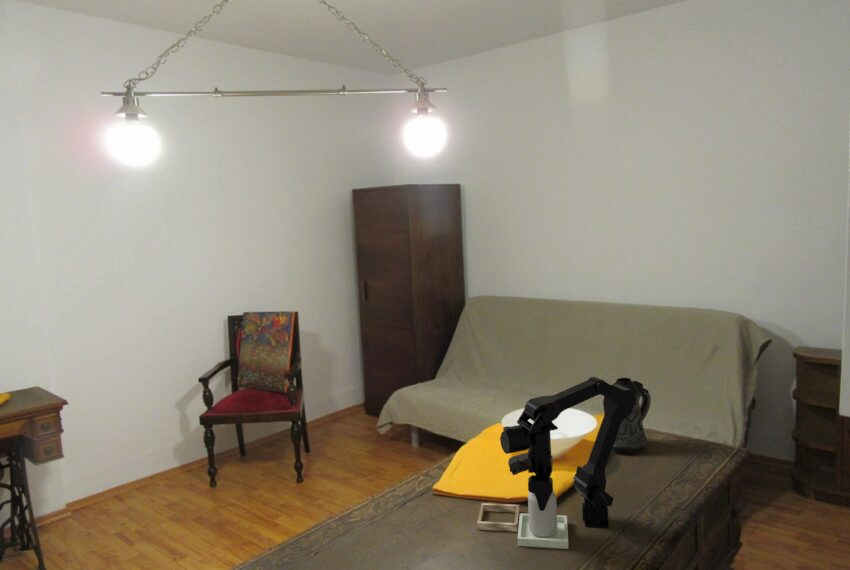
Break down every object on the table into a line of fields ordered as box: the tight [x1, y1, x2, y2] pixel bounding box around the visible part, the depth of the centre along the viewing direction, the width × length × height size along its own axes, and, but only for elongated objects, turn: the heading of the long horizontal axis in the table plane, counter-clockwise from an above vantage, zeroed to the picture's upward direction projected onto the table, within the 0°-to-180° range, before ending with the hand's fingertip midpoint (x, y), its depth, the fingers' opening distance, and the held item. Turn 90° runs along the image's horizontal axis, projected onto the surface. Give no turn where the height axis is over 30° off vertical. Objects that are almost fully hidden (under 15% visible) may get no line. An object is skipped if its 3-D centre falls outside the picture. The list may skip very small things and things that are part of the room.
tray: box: [517, 512, 569, 550], centre depth 160 cm, size 13×13×2 cm
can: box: [527, 490, 558, 538], centre depth 160 cm, size 8×8×12 cm
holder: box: [476, 502, 520, 533], centre depth 169 cm, size 11×11×2 cm
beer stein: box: [611, 377, 652, 456], centre depth 214 cm, size 16×19×25 cm
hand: (542, 501), depth 159 cm, fingers open, 9 cm apart
